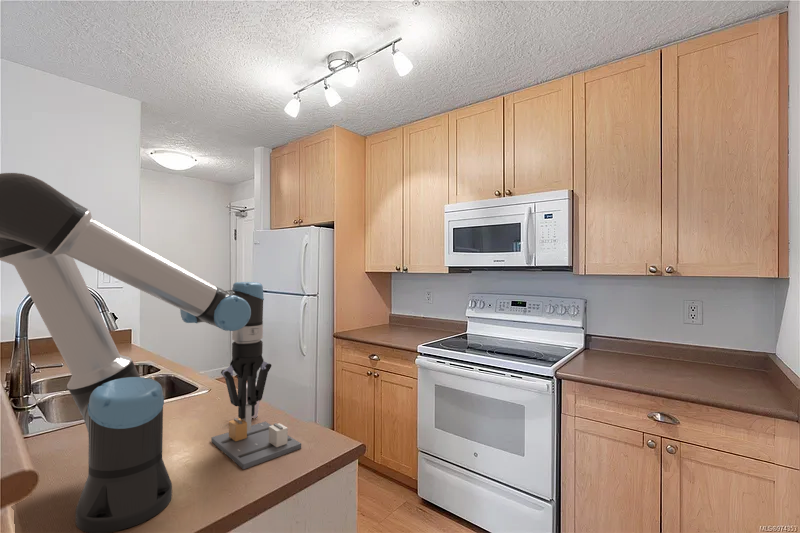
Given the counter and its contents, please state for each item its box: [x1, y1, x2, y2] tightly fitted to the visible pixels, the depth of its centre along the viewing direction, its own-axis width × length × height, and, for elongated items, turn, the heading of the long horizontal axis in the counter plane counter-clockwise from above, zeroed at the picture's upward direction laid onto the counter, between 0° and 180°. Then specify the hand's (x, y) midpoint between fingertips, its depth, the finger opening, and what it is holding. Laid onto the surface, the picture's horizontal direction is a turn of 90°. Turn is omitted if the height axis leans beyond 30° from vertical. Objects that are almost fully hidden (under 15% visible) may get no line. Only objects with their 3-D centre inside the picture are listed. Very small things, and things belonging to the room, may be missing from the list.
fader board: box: [210, 421, 302, 470], centre depth 102 cm, size 15×19×1 cm
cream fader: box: [269, 422, 289, 447], centre depth 101 cm, size 3×4×4 cm
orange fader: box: [228, 417, 247, 441], centre depth 104 cm, size 3×4×4 cm
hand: (246, 429), depth 105 cm, fingers closed
